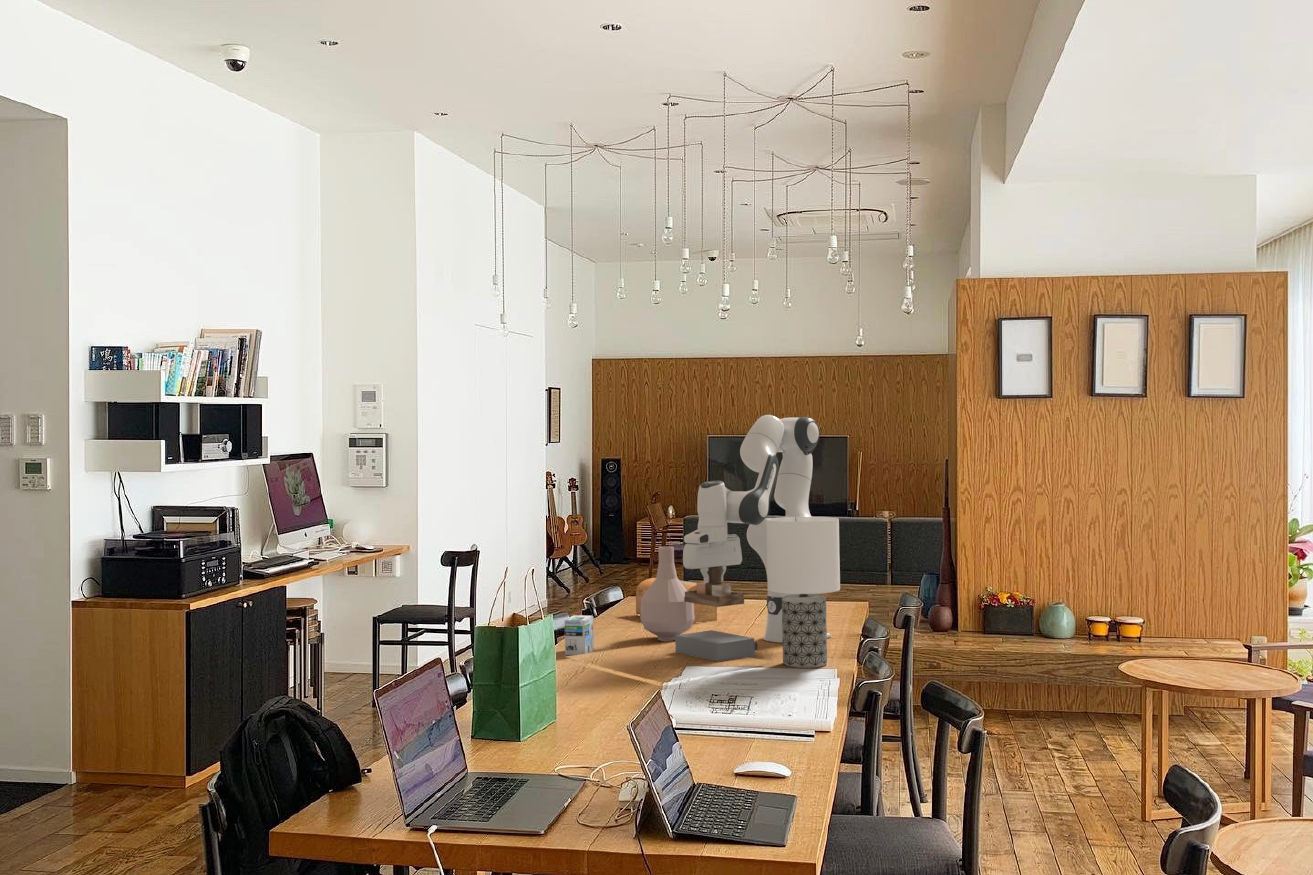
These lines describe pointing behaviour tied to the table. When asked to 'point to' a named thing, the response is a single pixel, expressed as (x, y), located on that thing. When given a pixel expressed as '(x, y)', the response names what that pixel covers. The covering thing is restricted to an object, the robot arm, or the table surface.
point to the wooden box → (700, 611)
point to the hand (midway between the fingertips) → (713, 581)
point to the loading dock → (716, 645)
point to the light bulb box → (579, 635)
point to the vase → (666, 601)
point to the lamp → (803, 583)
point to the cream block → (721, 590)
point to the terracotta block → (701, 588)
